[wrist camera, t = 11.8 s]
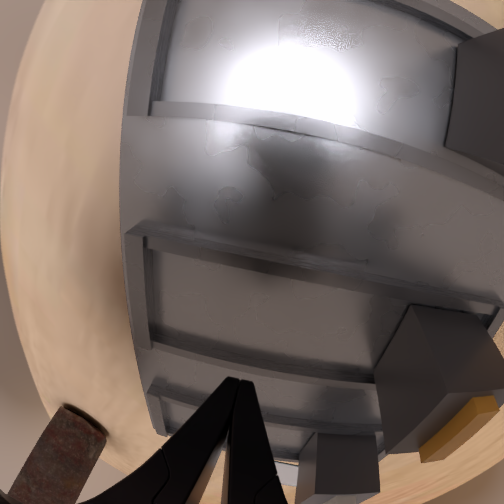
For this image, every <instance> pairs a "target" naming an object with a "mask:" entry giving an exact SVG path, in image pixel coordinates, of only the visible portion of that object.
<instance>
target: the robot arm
mask: <svg viewBox="0 0 504 504" xmlns="http://www.w3.org/2000/svg"><path fill="white" fill-rule="evenodd" d="M227 434H228V436H227ZM226 438H227V443H226V454H225V464H224V475H223V486H222V497H221V504H288V503H287V500H286V498H285V495H284V492H283V489H282V486H281V482H280V479H279V476H278V475H277V474H278V472H277V469H276V465H275V462H274V458H273V454H272V451H271V447H270V443H269V439H268V436H267V432H266V428H265V424H264V421H263V417H262V413H261V409H260V405H259V401H258V397H257V393H256V389H255V385H254V383H253V381H249V380H244V379H241V380H240V379H239V378H235V377H231V376H227V377H226V378H225V379H224V380H223V381H222V382H221V384H220V385H219V386H218V387H217V388H216V389H215V390H214V391H213V393H212V394H211V395H210V396H209V397H208V398H207V399H206V400H205V401H204V402H203V404H202V405H201V406H200V407H199V408H198V409H197V410H196V411H195V412H194V413H193V414H192V415H191V417H190V418H189V419H188V420H187V421H186V422H185V423H184V424H183V425H182V426H181V427H180V428H179V429H178V430H177V431H176V432H175V433H174V434H173V435H172V436H171V437H170V438H169V440H168V441H167V442H166V443H165V444H164V445H163V446H162V447H161V448H162V449H161V448H160V449H158V450H157V451H156V452H155V453H154V454H153V455H152V456H151V457H150V458H149V459H148V460H147V461H146V462H145V463H144V464H142V465H141V466H140V467H139V468H138V469H136V470H135V471H134V472H132V473H131V474H130V475H128V476H127V477H125V478H124V479H122V480H121V481H120V482H118V483H116V484H115V485H114V486H112V487H110V488H109V489H107V490H106V491H104V492H103V493H101V494H99V495H97V496H96V497H94V498H92V499H89V500H87V501H85V502H81V503H78V504H199V502H200V500H201V498H202V495H203V493H204V491H205V489H206V486H207V484H208V482H209V479H210V477H211V475H212V472H213V470H214V468H215V465H216V463H217V460H218V458H219V456H220V453H221V451H222V448H223V446H224V443H225V441H226ZM0 504H23V503H22V502H20V501H18V500H16V499H14V498H12V497H10V496H9V495H7V494H5V493H4V492H3V491H2V490H0Z"/></svg>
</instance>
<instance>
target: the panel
mask: <svg viewBox="0 0 504 504" xmlns="http://www.w3.org/2000/svg"><path fill="white" fill-rule="evenodd" d="M496 30H497V29H496V28H494V27H493V26H491V25H490V24H488V23H487V22H485V21H484V20H482V19H481V18H479V17H478V16H476V15H474V14H473V13H471V12H469V11H468V10H466V9H464V8H463V7H461V6H459V5H457V4H455V3H454V2H452V1H450V0H143V1H142V5H141V9H140V13H139V17H138V21H137V26H136V30H135V35H134V40H133V45H132V50H131V56H130V62H129V68H128V75H127V82H126V89H125V98H124V107H123V118H122V130H121V147H120V181H119V196H120V231H121V248H122V261H123V272H124V282H125V291H126V299H127V306H128V314H129V320H130V327H131V333H132V339H133V344H134V350H135V355H136V360H137V365H138V369H139V374H140V378H141V383H142V387H143V391H144V395H145V399H146V403H147V407H148V411H149V414H150V418H151V421H152V425H153V428H154V429H156V432H157V434H159V435H162V436H165V437H167V436H168V435H169V436H172V435H173V434H174V433H175V432H176V431H177V430H178V429H179V428H180V427H181V426H182V425H183V424H184V423H185V422H186V421H187V420H188V419H189V418H190V417H191V415H192V414H193V413H194V412H195V411H196V410H197V409H198V408H199V407H200V406H201V405H202V404H203V402H204V401H205V400H206V399H207V398H208V397H209V396H210V395H211V394H212V393H213V391H214V390H215V389H216V388H217V387H218V386H219V385H220V384H221V382H222V381H223V380H224V379H225V378H226V377H227V376H231V377H235V378H239V379H240V380H241V379H244V380H249V381H253V383H254V385H255V389H256V393H257V397H258V401H259V405H260V409H261V413H262V417H263V421H264V424H265V428H266V432H267V436H268V439H269V443H270V447H271V451H272V454H273V458H274V460H280V461H288V462H298V463H299V454H300V452H301V451H302V449H303V448H304V447H305V446H306V444H307V443H308V442H309V440H310V439H311V438H312V436H313V435H314V434H315V433H327V434H343V435H376V443H377V453H378V462H379V461H381V460H382V459H383V458H384V457H386V456H387V455H388V454H386V453H385V445H384V436H383V429H382V422H381V415H380V408H379V402H378V396H377V390H376V385H375V379H374V374H373V371H374V369H375V368H376V366H377V364H378V363H379V361H380V360H381V358H382V356H383V355H384V353H385V351H386V349H387V348H388V346H389V344H390V343H391V341H392V339H393V337H394V336H395V334H396V332H397V330H398V328H399V326H400V325H401V323H402V321H403V319H404V317H405V315H406V313H407V311H408V309H409V307H410V305H417V306H423V307H429V308H435V309H441V310H447V311H453V312H460V313H466V314H473V315H477V316H478V318H479V319H480V321H481V322H482V324H483V325H484V327H485V328H486V330H487V331H488V333H489V335H490V336H491V338H493V337H494V335H495V334H496V332H497V331H498V329H499V327H500V326H501V324H502V322H503V321H504V176H502V175H501V174H499V173H497V172H495V171H493V170H491V169H490V168H488V167H486V166H484V165H482V164H480V163H478V162H476V161H474V160H472V159H470V158H468V157H465V156H463V155H461V154H459V153H457V152H455V151H452V150H450V149H448V148H445V145H446V140H447V135H448V130H449V124H450V118H451V112H452V105H453V98H454V90H455V80H456V69H457V52H458V44H459V43H462V42H464V41H467V40H470V39H472V38H475V37H478V36H481V35H484V34H487V33H490V32H493V31H496ZM227 436H228V434H227ZM226 443H227V438H226V441H225V443H224V446H223V448H222V450H223V451H226Z"/></svg>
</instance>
